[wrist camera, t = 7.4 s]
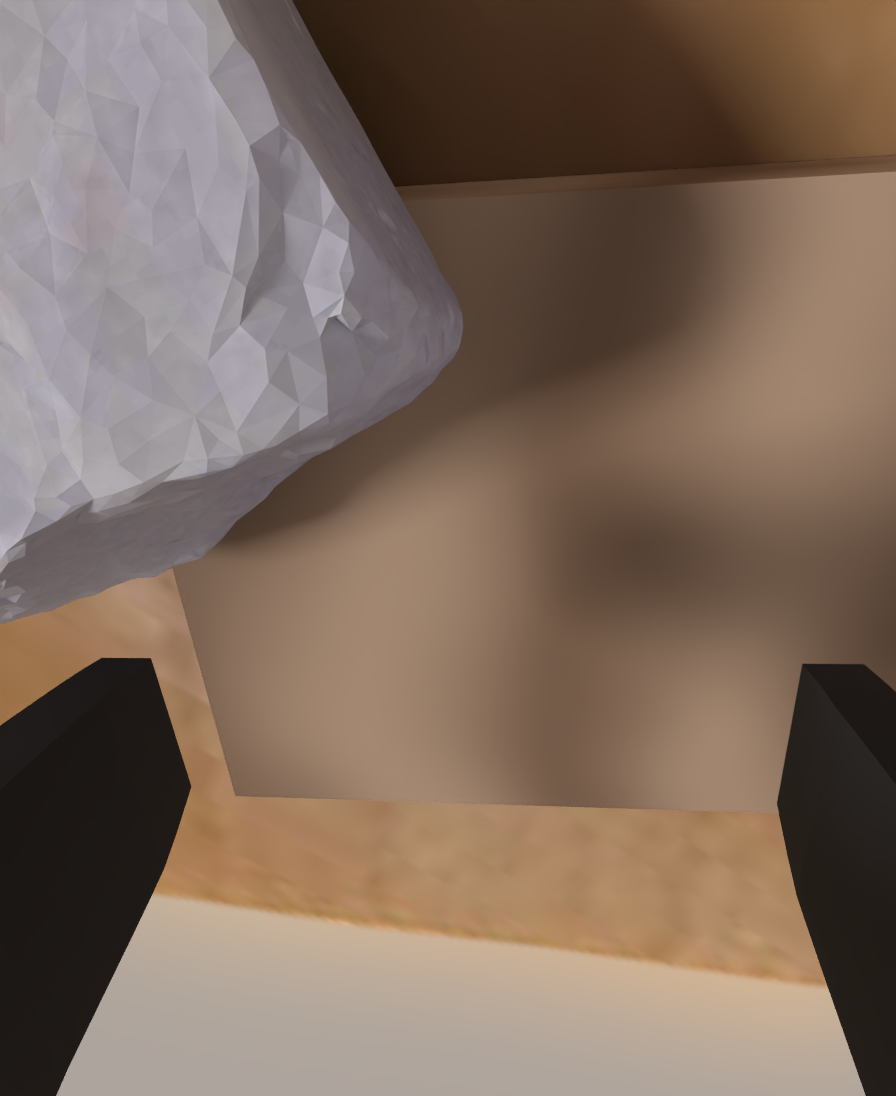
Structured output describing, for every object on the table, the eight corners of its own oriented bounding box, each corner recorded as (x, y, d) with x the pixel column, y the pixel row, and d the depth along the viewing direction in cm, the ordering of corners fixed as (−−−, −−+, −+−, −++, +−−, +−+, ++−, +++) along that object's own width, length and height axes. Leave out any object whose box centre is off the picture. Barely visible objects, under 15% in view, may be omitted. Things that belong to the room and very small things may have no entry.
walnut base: (1169, 137, 12) (1275, 147, 10) (966, 748, 18) (1011, 820, 16) (134, 203, 14) (76, 221, 12) (262, 733, 20) (235, 795, 18)
